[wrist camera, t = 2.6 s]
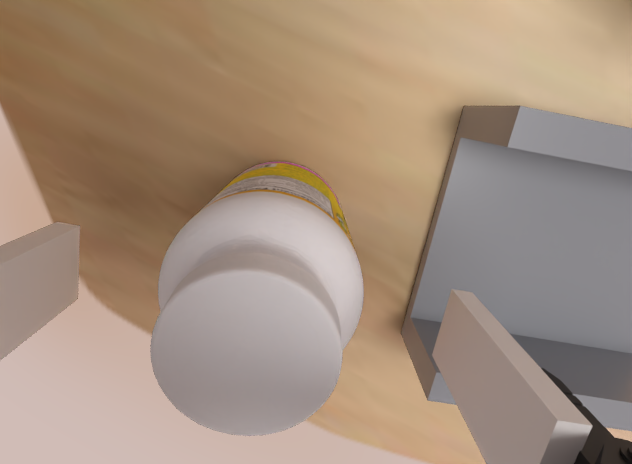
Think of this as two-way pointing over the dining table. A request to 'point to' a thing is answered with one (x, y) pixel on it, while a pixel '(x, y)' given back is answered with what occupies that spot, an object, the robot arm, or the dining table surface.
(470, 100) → the dining table surface
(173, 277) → the supplement bottle
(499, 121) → the u cradle
